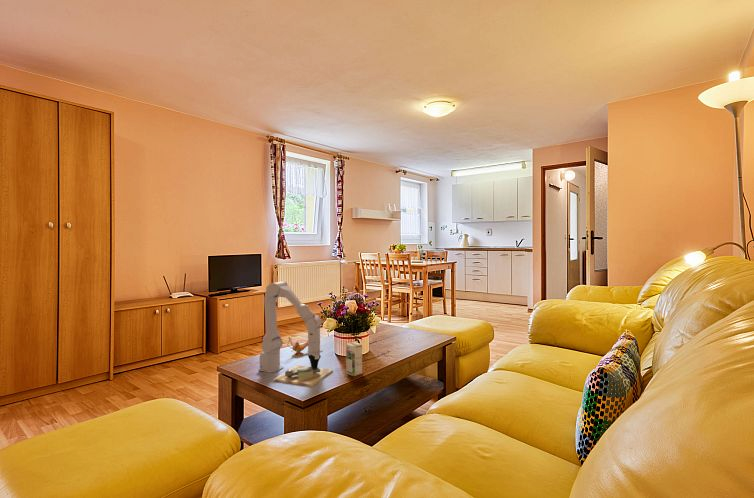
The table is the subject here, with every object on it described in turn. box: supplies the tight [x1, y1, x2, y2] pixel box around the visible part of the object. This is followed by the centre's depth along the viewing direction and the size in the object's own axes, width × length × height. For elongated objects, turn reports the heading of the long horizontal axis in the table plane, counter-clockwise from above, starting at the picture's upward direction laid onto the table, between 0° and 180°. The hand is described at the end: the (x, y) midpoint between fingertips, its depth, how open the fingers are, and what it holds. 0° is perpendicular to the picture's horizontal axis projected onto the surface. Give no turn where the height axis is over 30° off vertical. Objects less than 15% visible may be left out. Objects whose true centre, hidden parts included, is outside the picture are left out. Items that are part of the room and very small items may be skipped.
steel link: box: [284, 366, 321, 377], centre depth 174 cm, size 16×4×2 cm, turn 111°
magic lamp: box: [286, 336, 308, 357], centre depth 212 cm, size 7×18×11 cm, turn 137°
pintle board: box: [272, 365, 334, 387], centre depth 176 cm, size 20×20×2 cm
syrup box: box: [345, 341, 363, 377], centre depth 179 cm, size 6×6×14 cm
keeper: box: [297, 366, 313, 379], centre depth 172 cm, size 6×4×4 cm, turn 110°
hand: (314, 369), depth 179 cm, fingers closed
